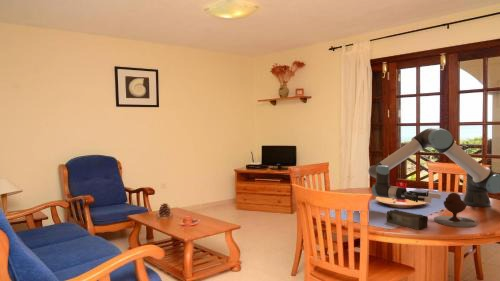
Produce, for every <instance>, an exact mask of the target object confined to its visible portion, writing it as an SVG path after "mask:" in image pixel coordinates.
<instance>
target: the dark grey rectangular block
mask: <svg viewBox="0 0 500 281" xmlns="http://www.w3.org/2000/svg"><path fill="white" fill-rule="evenodd" d="M428 219H429V217H428V215H427V216H426V215H423V214H420V213H419V214H418V213H413V212H407V211H402V210H399V209H389V210H388V211H386V222H387V223H391V224H394V225H399V226H402V227H406V228H409V229H410V228H411V229H414V230H419V231H420V230H424V229H428V228H429V227H428V222H429V220H428Z"/></svg>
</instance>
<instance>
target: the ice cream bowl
mask: <svg viewBox="0 0 500 281" xmlns="http://www.w3.org/2000/svg"><path fill="white" fill-rule="evenodd" d="M443 205H444V208H445V209H446V210H447V211H448V212H450V213H451V214H452V216H453V217H452V218H449V220H450V221H454V222H460V219H458V218H457V217H458V216H457V214H459V213H462V212H464V211H465V210H466V208H467V206H468V205H467V204H466V203H464V201H463V199H461V195H460V194H458V192H457V193H456V192H451V193H449V194H448V195H447V196H446V197H445V200H443Z"/></svg>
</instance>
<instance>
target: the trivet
mask: <svg viewBox="0 0 500 281" xmlns="http://www.w3.org/2000/svg"><path fill="white" fill-rule="evenodd" d="M452 217H453V215H438V216H437V215H436V216H434V217H433V221H434V222H435V223H437V224H440V225H444V226H448V227H454V228H474V227H477V225H478V223H477V221H475V220H473V219H471V218H467V217H462V216H456V217H457V218H458V219H460V222H454V221H450V220H449V218H452Z"/></svg>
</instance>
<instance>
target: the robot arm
mask: <svg viewBox="0 0 500 281" xmlns="http://www.w3.org/2000/svg"><path fill="white" fill-rule="evenodd" d="M426 148H427V149H428V148H433V149H434V150H435V151H436V152H437V153H439V154H444V155H445V156H446V157H448V158H449V160H451V161H452V162H453V163H455V164H456V165H457V166H459V167H460V168H461V169H462V170H463V171H465V172H466V191H465V194H464V197H463V199H462V201H464V203H466V204H467V205H466V206H472V207H483V208H484V207H485V208H486V207H490V206H491V203H492V202H491V200H490V197H489V194H488V193H490V194H499V193H500V174H499V173H496V172H494V170H492V168H490V167H484V166H483V165H482V164H481V163H480V162H478V161H477V160H476V159H475V158H473V157H472V156H471V155H470V154H469V153H467V152H466V151H465V150H463V148H461V147H460V146H459V145H458V144H457V143H456V139H455V138H453V136H452V134H451V132H450V131H449V130H446V129H444V128H441V127H440V128H438V127H437V128H434V127H433V128H432V127H431V128H429V127H428V128H425V129H424V130H422V131H421V132H419V133H417V134H416V135H415V136H413V137H412V138H411V140H410V141H409V142H407V143H406V144H404V145H403V146H401V147H400V148H398V149H397V150H396V151H394V152H393V153H391V154H390V155H388V156H387V157H386V158H383V160H381V161H380V162H378V163H377V164H375V165H370V166H369V167H368V170H367V171H368V174H369V175H370V176H371V177H372V178H375V183H374V184H373V185H372V188H371V193H372V196H375V197H379V198H386V199H392V200H393V201H394V200H399V201H405V200H408V201H412V202H415V203H419V202H424V203H427V204H431V203H432V199H437V200H441V197H442V196H441V193H436V192H430V191H429V190H428V191H419V190H418V191H417V190H408V191H407V188H406V187H404V186H403V187H402V186H394V185H390V170H392V169H393V168H395V167H396V166H398V165H400V164H401V163H402V162H405V160H407V159H408V158H410V157H411V156H413V155H414V154H416V153H417V152H419V151H423V150H424V149H426Z"/></svg>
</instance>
